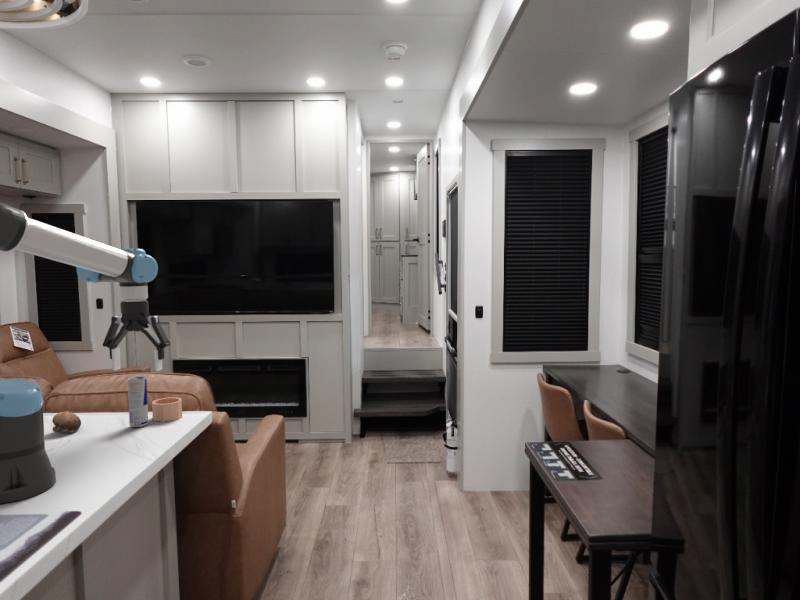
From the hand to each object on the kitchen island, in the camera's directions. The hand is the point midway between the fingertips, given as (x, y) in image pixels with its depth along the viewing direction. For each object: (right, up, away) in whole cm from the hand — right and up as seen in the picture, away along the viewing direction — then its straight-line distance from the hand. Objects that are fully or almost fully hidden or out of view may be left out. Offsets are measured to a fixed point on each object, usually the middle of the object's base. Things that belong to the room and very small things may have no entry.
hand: (137, 370), depth 157 cm
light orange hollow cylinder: (+5, -17, +9) cm, 20 cm away
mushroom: (-19, -18, -4) cm, 26 cm away
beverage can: (0, -17, +1) cm, 17 cm away
